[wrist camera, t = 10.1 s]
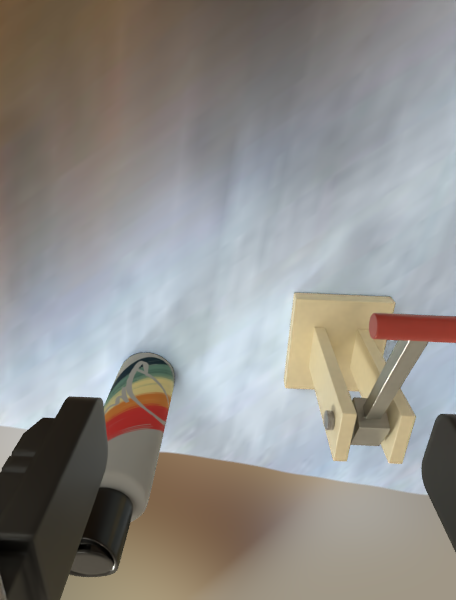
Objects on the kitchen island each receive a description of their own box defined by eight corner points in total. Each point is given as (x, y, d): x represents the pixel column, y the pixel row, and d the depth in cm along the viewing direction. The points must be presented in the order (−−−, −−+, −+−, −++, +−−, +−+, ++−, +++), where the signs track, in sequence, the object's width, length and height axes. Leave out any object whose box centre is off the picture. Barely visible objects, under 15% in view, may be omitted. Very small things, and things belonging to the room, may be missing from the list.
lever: (372, 300, 24) (381, 335, 22) (466, 304, 24) (482, 339, 22) (325, 414, 33) (329, 444, 32) (392, 417, 33) (399, 447, 32)
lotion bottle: (170, 348, 42) (120, 535, 24) (179, 394, 45) (140, 594, 27) (114, 353, 43) (25, 541, 25) (127, 398, 45) (54, 598, 27)
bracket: (294, 292, 40) (318, 378, 28) (390, 296, 40) (457, 384, 28) (283, 380, 44) (301, 487, 32) (370, 383, 44) (420, 492, 32)
